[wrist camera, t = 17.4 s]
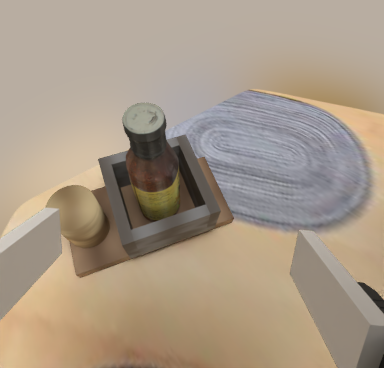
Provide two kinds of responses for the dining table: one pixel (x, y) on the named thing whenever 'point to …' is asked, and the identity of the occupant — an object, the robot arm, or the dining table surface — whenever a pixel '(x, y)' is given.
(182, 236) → the post socket
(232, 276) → the dining table surface
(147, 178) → the sauce bottle
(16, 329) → the dining table surface
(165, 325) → the dining table surface
